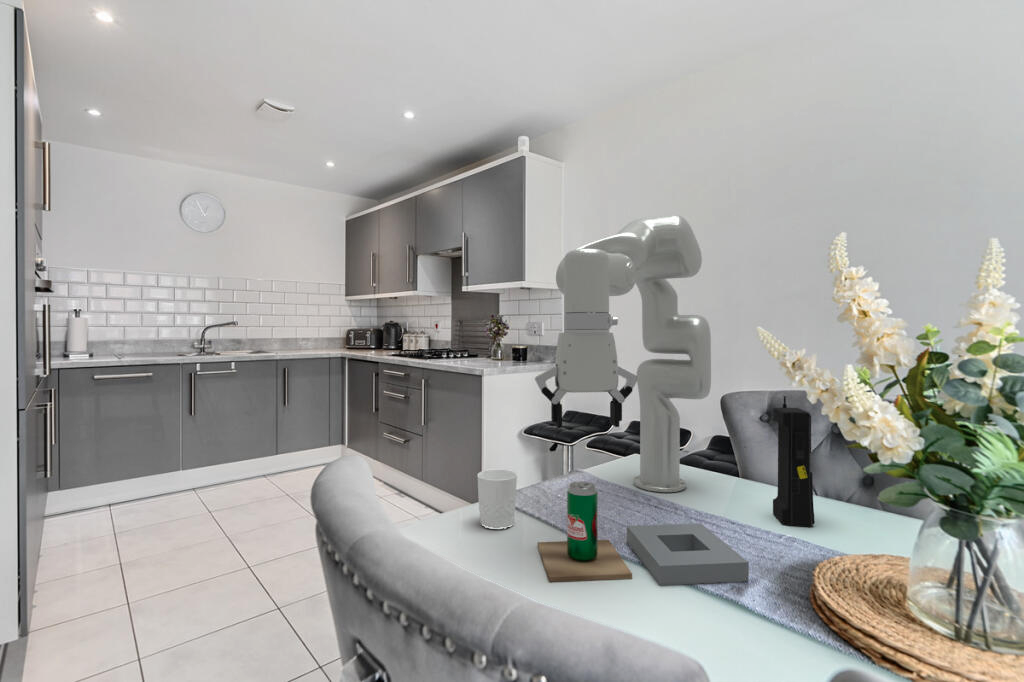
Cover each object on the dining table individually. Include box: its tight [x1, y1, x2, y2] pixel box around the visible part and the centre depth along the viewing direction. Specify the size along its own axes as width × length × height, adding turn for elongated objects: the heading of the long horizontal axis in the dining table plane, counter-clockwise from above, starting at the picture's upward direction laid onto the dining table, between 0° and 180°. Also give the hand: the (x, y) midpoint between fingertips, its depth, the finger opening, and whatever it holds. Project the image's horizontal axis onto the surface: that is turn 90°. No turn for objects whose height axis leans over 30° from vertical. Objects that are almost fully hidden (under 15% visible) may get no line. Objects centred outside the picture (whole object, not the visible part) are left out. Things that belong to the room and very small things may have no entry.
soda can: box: [566, 481, 599, 562], centre depth 85 cm, size 5×5×12 cm
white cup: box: [477, 468, 518, 528], centre depth 102 cm, size 8×8×10 cm
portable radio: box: [772, 395, 816, 528], centre depth 103 cm, size 8×6×25 cm
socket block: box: [626, 522, 750, 586], centre depth 85 cm, size 16×14×3 cm
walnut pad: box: [537, 539, 633, 583], centre depth 85 cm, size 13×13×1 cm
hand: (586, 426), depth 86 cm, fingers open, 9 cm apart
